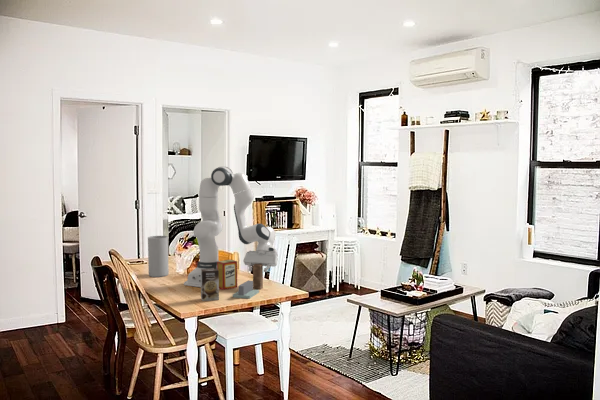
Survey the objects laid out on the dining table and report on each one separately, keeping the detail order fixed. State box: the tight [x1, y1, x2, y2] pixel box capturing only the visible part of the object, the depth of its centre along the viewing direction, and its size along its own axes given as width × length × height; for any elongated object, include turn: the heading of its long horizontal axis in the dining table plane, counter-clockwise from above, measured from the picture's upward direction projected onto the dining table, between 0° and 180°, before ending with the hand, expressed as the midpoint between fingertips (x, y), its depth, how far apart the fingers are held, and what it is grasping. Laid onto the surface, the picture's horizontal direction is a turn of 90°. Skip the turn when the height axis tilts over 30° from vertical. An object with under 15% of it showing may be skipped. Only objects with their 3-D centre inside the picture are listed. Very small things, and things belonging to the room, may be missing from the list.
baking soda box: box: [217, 259, 238, 291], centre depth 322 cm, size 10×6×16 cm
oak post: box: [252, 264, 264, 291], centre depth 319 cm, size 4×4×14 cm
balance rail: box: [232, 279, 260, 300], centre depth 305 cm, size 10×14×6 cm
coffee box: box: [200, 269, 220, 302], centre depth 295 cm, size 9×6×16 cm
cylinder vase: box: [147, 235, 170, 278], centre depth 356 cm, size 12×12×25 cm
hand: (257, 271), depth 319 cm, fingers open, 8 cm apart
